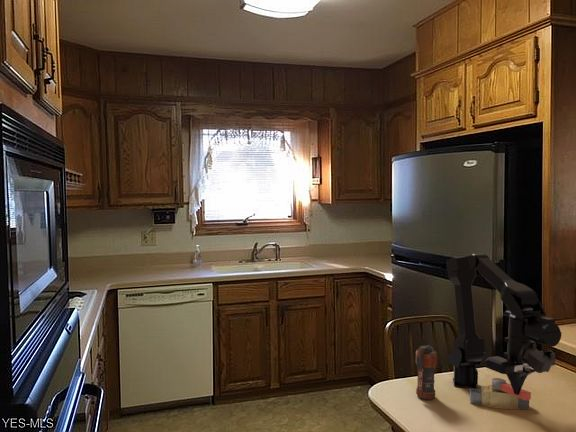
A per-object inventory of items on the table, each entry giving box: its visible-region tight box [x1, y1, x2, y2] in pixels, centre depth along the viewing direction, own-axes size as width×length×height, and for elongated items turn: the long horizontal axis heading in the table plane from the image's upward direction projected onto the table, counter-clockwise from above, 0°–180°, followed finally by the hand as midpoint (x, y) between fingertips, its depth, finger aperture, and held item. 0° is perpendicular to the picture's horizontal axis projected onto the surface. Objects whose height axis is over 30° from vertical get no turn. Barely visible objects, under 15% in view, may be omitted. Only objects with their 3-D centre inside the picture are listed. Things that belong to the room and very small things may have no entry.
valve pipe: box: [469, 384, 530, 411], centre depth 135 cm, size 15×5×4 cm, turn 74°
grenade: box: [415, 345, 438, 401], centre depth 139 cm, size 6×8×15 cm
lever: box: [491, 377, 532, 401], centre depth 132 cm, size 11×4×2 cm, turn 27°
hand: (516, 394), depth 128 cm, fingers closed
